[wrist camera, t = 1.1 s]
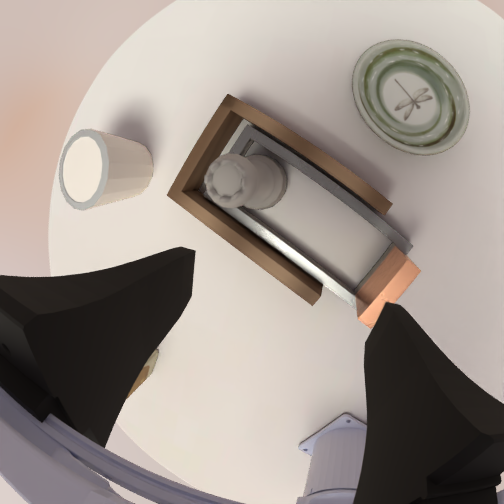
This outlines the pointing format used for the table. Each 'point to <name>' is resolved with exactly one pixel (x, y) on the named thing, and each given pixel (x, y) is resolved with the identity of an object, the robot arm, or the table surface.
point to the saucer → (411, 97)
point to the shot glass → (103, 169)
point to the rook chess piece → (245, 181)
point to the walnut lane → (232, 229)
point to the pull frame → (362, 298)
